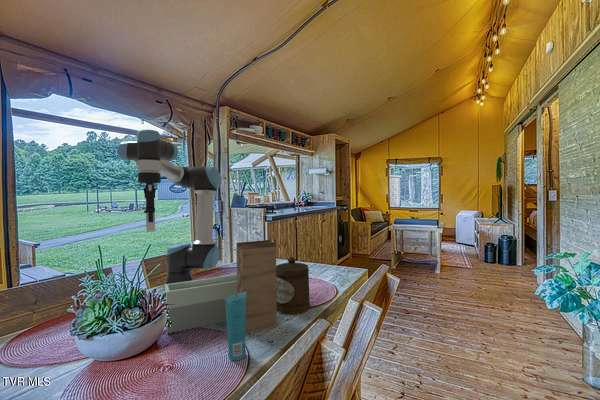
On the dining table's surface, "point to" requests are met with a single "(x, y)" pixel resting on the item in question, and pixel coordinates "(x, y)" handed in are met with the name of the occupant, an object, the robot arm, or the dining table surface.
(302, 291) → the wooden container
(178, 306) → the tray
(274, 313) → the tan tall block
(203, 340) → the dining table surface
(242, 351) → the tube
